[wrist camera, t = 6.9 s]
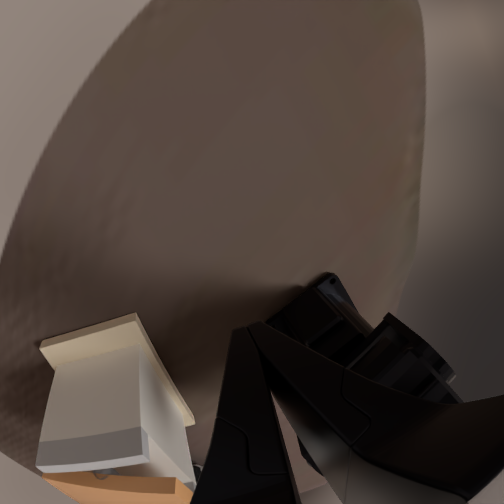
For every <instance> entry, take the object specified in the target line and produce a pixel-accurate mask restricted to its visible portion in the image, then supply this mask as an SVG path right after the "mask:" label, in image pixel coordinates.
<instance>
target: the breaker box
mask: <svg viewBox="0 0 504 504" xmlns="http://www.w3.org/2000/svg"><path fill="white" fill-rule="evenodd" d="M39 349H40V351H41V352H42V354H43V355H44V357H45V358H46V359H47V361H48V362H49V364H50V365H51V366H52V368H53V369H54V370H55V375H54V378H53V382H52V386H51V390H50V394H49V398H48V402H47V406H46V411H45V415H44V420H43V425H42V430H41V435H40V440H39V446H38V452H37V458H36V465H35V466H36V467H37V468H38V469H40V470H41V471H42V472H43V473H61V472H77V471H82V472H90V473H93V470H99V469H107V468H113V469H115V470H116V471H117V472H118V473H119V474H121V475H122V476H136V477H176V478H177V479H179V480H180V481H181V482H182V483H183V484H184V485H185V486H186V487H187V488H189V489H190V490H191V491H192V492H193V493H194V490H195V488H196V485H197V484H196V480H195V475H194V471H193V466H192V461H191V457H190V452H189V447H188V441H187V436H186V431H185V427H187V426H190V425H194V424H195V420H194V416H193V414H192V412H191V411H190V409H189V408H188V406H187V404H186V403H185V401H184V399H183V398H182V396H181V394H180V393H179V391H178V389H177V388H176V386H175V384H174V383H173V381H172V379H171V377H170V376H169V374H168V372H167V370H166V369H165V367H164V365H163V363H162V361H161V360H160V358H159V356H158V354H157V352H156V350H155V348H154V347H153V345H152V343H151V341H150V339H149V337H148V335H147V333H146V331H145V329H144V327H143V325H142V323H141V321H140V319H139V317H138V315H137V313H136V312H135V313H132V314H128V315H125V316H122V317H119V318H115V319H112V320H109V321H106V322H102V323H99V324H96V325H93V326H89V327H86V328H83V329H79V330H76V331H73V332H69V333H66V334H62V335H59V336H56V337H52V338H49V339H45V340H42V343H41V345H40V348H39Z"/></svg>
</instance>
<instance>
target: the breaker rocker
mask: <svg viewBox="0 0 504 504" xmlns="http://www.w3.org/2000/svg"><path fill="white" fill-rule="evenodd" d="M42 478H43V479H44V480H46V481H47V482H49V483H50V484H51V485H53V486H54V487H56V488H57V489H58V490H60V491H61V492H63V493H64V494H66V495H67V496H69V497H70V498H72V499H74V500H75V501H77V502H78V503H80V504H190V501H191V499H192V496H193V492H192V491H191V490H190V489H189V488H187V487H186V486H185V485H184V484H183V483H182V482H181V481H180V480H179V479H177V478H176V477H136V476H122V475H121V474H119V473H118V472H117V471H116V470H115V469H113V468H107V469H99V470H93V473H90V472H82V471H77V472H61V473H43V475H42Z"/></svg>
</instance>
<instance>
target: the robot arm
mask: <svg viewBox="0 0 504 504" xmlns="http://www.w3.org/2000/svg"><path fill="white" fill-rule="evenodd" d="M332 278H333V280H332V281H331V282H330V280H331V279H332ZM383 319H384V320H383V321H382V322H381V323H380V324H379V325H378V326H377V327H376V328H375V329H374V328H373V327H372V326H371V325H370V324H369V323H368V322H367V321H366V320H365V319H364V318H363V317H362V316H361V315H360V314H359V313H358V311H357V309H356V307H355V306H354V304H353V302H352V300H351V299H350V297H349V295H348V293H347V292H346V290H345V288H344V286H343V285H342V283H341V281H340V279H339V278H338V276H337V275H335V274H334V273H329V274H327V275H326V276H325V277H324V278H322V279H321V280H320V281H318V282H317V283H316V284H315V285H313V286H312V287H311V288H310V289H308V290H307V291H306V292H304V293H303V294H302V295H301V296H299V297H298V298H297V299H295V300H294V301H293V302H292V303H290V304H289V305H288V306H286V307H285V308H284V309H282V310H281V311H280V312H278V313H277V314H276V315H274V316H273V317H272V318H270V319H269V320H268V321H267V322H266V323H263V322H262V321H256V322H253V323H250V324H248V325H247V327H246V326H242V327H239V328H236V329H233V330H232V332H231V338H230V343H229V348H228V354H227V359H226V364H225V370H224V375H223V380H222V386H221V391H220V397H219V402H218V407H217V413H216V419H215V423H214V428H213V433H212V437H211V442H210V446H209V449H208V453H207V456H206V459H205V462H204V465H203V468H202V471H201V474H200V476H199V479H198V482H197V485H196V488H195V490H194V493H193V496H192V499H191V501H190V504H302V503H301V499H300V496H299V492H298V489H297V485H296V482H295V478H294V475H293V471H292V467H291V464H290V460H289V457H288V453H287V449H286V446H285V442H284V439H283V435H282V431H281V428H280V424H279V420H278V417H277V413H276V409H275V405H274V402H273V398H272V395H273V396H274V398H275V400H276V402H277V403H278V405H279V407H280V408H281V410H282V411H283V413H284V415H285V416H286V418H287V420H288V421H289V423H290V424H291V426H292V428H293V429H294V431H295V432H296V434H297V438H298V443H299V447H300V451H301V454H302V456H303V457H304V458H305V459H306V461H307V463H308V464H309V465H310V466H311V467H313V468H314V469H315V470H316V471H317V472H318V473H319V474H321V475H322V476H324V477H325V478H326V480H327V481H328V483H329V484H330V486H331V487H332V489H333V490H334V492H335V493H336V495H337V496H338V498H339V499H340V500H341V502H342V503H343V504H504V394H503V395H499V396H495V397H490V398H485V399H480V400H475V401H470V402H465V403H464V402H463V401H462V400H461V398H459V396H458V395H457V394H456V393H455V392H454V391H453V389H452V388H451V387H450V386H449V385H448V384H449V383H450V382H451V381H452V380H453V379H454V378H455V377H456V374H455V373H454V371H453V370H452V368H451V367H450V366H449V365H448V364H447V362H446V361H445V360H444V359H443V358H442V357H441V356H440V355H439V354H438V353H437V352H436V351H435V350H434V349H433V348H432V347H431V346H430V345H429V344H428V343H427V342H426V341H425V340H424V339H422V338H421V337H420V336H419V335H417V334H416V333H415V332H414V331H412V330H411V329H409V327H407V326H406V325H405V324H403V323H402V322H401V321H400V320H398V319H397V318H396V317H394V316H393V315H392V314H391V313H389V312H388V313H387V314H386V315H385V316H384V318H383ZM271 325H274V326H273V327H270V326H271ZM271 393H272V395H271Z"/></svg>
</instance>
